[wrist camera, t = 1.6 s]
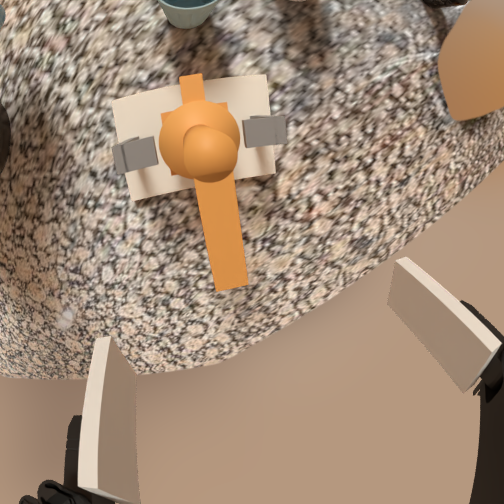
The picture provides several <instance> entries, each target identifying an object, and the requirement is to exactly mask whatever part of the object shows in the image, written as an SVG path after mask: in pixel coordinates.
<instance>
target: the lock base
mask: <svg viewBox="0 0 504 504" xmlns="http://www.w3.org/2000/svg"><path fill="white" fill-rule="evenodd" d="M203 85H204V93H205V101H209V102H213V103H223V102H227V106H228V111H229V112H230V113H231V114H232V116H233V117H234V119H235V120H236V122H237V124H238V127H239V131H240V146H239V150H238V159H237V163H236V166H235V168H234V170H233V173H234V180H236V179H242V178H248V177H254V176H261V175H267V174H274V173H276V171H275V160H274V148H273V145H278V144H287V136H286V124H285V116H270V106H269V97H268V87H267V78H266V75H250V76H238V77H227V78H219V79H211V80H204V81H203ZM182 105H183V103H182V96H181V89H180V84H179V85H174V86H169V87H164V88H159V89H155V90H151V91H146V92H142V93H138V94H134V95H131V96H127V97H123V98H120V99H116V100H113V101H112V108H113V114H114V120H115V126H116V132H117V137H118V142H119V144H117V145H115V146H113V147H112V152H113V157H114V161H115V166H116V170H117V175H119V174H123V173H125V175H126V180H127V184H128V188H129V192H130V196H131V200H132V201H136V200H140V199H144V198H148V197H152V196H157V195H161V194H165V193H170V192H174V191H179V190H184V189H189V188H194V187H195V184H194V179H188V178H185V177H182V176H180V175H173V176H171V171H170V168H169V167H168V166H167V165H166V163H165V162H164V160H163V158H162V156H161V154H160V150H159V134H160V130H161V127H162V119H161V113H165V112H170V111H174V110H175V109H177V108H178V107H180V106H182Z"/></svg>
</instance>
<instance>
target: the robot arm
mask: <svg viewBox="0 0 504 504" xmlns="http://www.w3.org/2000/svg"><path fill="white" fill-rule="evenodd" d="M4 21H5V10H4V8H3V7H2V6H1V5H0V29H1V27H2V25H3V23H4ZM9 146H10V125H9V119H8V116H7V113H6V110H5V108H4V107H3V105H2V104H1V103H0V174H1V172H2V170H3V168H4V166H5V163H6V160H7V157H8V152H9ZM387 305H389V307H390V308H391V309H392V310H393V311H394V312H395V313H396V314H397V315H398V317H399V318H400V319H401V320H402V321H403V322H404V323H405V324H406V325H407V327H408V328H409V329H410V330H411V331H412V332H413V333H414V335H415V336H416V337H417V338H418V339H419V340H420V341H421V343H422V344H423V345H424V346H425V347H426V348H427V350H428V351H429V352H430V353H431V354H432V356H433V357H434V358H435V359H436V360H437V362H438V363H439V364H440V365H441V366H442V368H443V369H444V370H445V371H446V373H447V374H448V375H449V376H450V378H451V379H452V380H453V381H454V383H455V384H456V385H457V386H458V387H459V389H460V390H461V391H462V393H465V392H466V391H467V390H468V389H469V388H471V387H472V386H473V385H474V384H475V382H476V381H477V380H478V378H479V377H481V379H482V380H481V381H480V383H479V384H478V385H477V387H476V388H475V390H474V391H473V395H475V394H476V393H477V392H478V391H479V389H480V391H479V392H478V395H479V396H480V410H481V411H480V434H479V448H478V457H477V465H476V472H475V478H474V483H473V489H472V494H471V498H470V503H469V504H504V336H503V335H502V334H501V333H500V332H499V331H498V330H497V329H496V328H495V327H494V326H493V325H492V324H491V323H490V322H489V321H488V320H487V319H485V318H484V316H482V315H481V314H479V312H478V311H477V310H476V309H475V308H474V307H473V306H472V305H470V304H468V303H466V302H464V301H460V302H459V301H458V300H457V299H456V298H455V297H454V296H452V295H451V294H450V293H449V292H448V291H447V290H446V289H445V288H444V287H442V286H441V285H440V284H439V283H438V282H437V281H435V280H434V279H433V278H432V277H431V276H430V275H428V274H427V273H426V272H425V271H424V270H422V269H421V268H420V267H419V266H417V265H416V264H415V263H414V262H413V261H411V260H410V259H409V258H408V257H404V258H401V259H398V260H395V265H394V271H393V276H392V282H391V287H390V292H389V298H388V302H387ZM136 381H137V374H136V373H135V371H134V370H133V369H132V367H131V366H130V364H129V363H128V361H127V360H126V358H125V357H124V355H123V354H122V352H121V351H120V349H119V348H118V346H117V345H116V343H115V341H114V340H113V338H112V337H111V336H108V337H102V338H97V339H96V342H95V346H94V351H93V355H92V360H91V365H90V370H89V375H88V381H87V387H86V393H85V400H84V407H83V414H82V415H80V416H78V415H77V416H73V418H72V420H71V422H70V424H69V426H68V435H67V439H68V441H67V444H66V448H67V450H66V455H65V469H64V484H63V485H61V484H59V483H57V482H55V481H53V480H46V481H44V482H42V484H40V486H39V488H38V492H37V493H38V499H36V498H34V497H32V496H30V495H25V496H23V497H22V498H21V499H20V501H19V504H115V502H116V503H119V504H141V502H140V493H139V483H138V470H137V453H136Z"/></svg>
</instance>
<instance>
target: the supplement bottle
mask: <svg viewBox="0 0 504 504" xmlns="http://www.w3.org/2000/svg"><path fill="white" fill-rule="evenodd" d="M423 1H424V2H425V3H426V4H427V5H428V6H430V7H431V8H434V9H438V8H444V7H451V6H459V5H465V4H466V3H467V1H468V0H423Z"/></svg>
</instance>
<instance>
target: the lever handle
mask: <svg viewBox="0 0 504 504" xmlns="http://www.w3.org/2000/svg"><path fill="white" fill-rule="evenodd" d="M179 81H180V89H181V96H182V103H183V105H182V106H180V107H178V108H177V109H175V110H174V111H170V112H165V113H161V119H162V127H161V130H160V134H159V150H160V154H161V156H162V158H163V160H164V162H165V163H166V165H167V166H168V167H169V168H170V171H171V176H173V175H180V176H182V177H185V178H188V179H194V184H195V189H196V195H197V200H198V205H199V211H200V216H201V221H202V226H203V231H204V236H205V241H206V246H207V251H208V256H209V261H210V265H211V270H212V274H213V279H214V283H215V288H216V292H218V291H222V290H227V289H231V288H236V287H240V286H245V285H248V277H247V270H246V263H245V256H244V248H243V241H242V234H241V226H240V219H239V211H238V204H237V196H236V189H235V181H234V173H233V170H234V168H235V166H236V163H237V159H238V150H239V146H240V131H239V127H238V124H237V122H236V120H235V119H234V117H233V116H232V114H231V113H230V112H229V111H228V106H227V102H223V103H213V102H209V101H205V93H204V85H203V77H202V73H200V74H193V75H187V76H181V77H179Z"/></svg>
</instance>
